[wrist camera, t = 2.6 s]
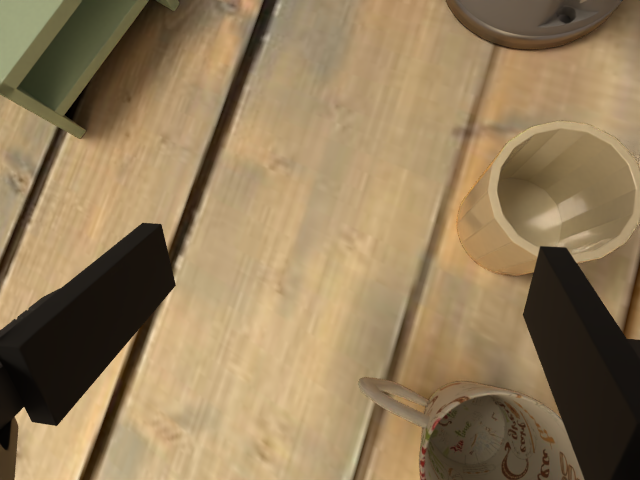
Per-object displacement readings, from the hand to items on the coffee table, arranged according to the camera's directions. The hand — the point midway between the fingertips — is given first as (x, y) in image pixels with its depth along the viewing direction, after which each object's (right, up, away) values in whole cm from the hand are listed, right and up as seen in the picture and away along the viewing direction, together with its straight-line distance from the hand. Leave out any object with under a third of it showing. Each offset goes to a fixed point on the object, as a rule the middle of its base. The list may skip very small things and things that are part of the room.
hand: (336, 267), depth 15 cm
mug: (+8, -12, +17) cm, 22 cm away
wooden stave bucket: (+14, +2, +18) cm, 23 cm away
